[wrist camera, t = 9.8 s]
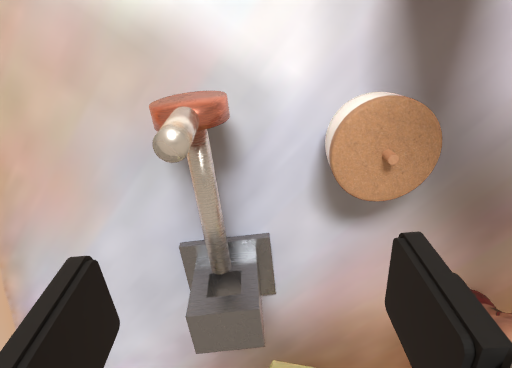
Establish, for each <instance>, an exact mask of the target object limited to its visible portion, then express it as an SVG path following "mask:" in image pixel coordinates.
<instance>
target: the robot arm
mask: <svg viewBox="0 0 512 368" xmlns="http://www.w3.org/2000/svg"><path fill="white" fill-rule="evenodd" d="M385 307H386V311H387V313H388V315H389V318H390V320H391V322H392V324H393V326H394V329H395V331H396V333H397V335H398V337H399V340H400V342H401V344H402V346H403V348H404V351H405V353H406V355H407V357H408V359H409V362H410V364H411V366H412V368H512V342H511V341H510V340H509V338H508V337H507V336H506V334H505V333H504V332H503V331H502V329H501V328H500V327H499V326H498V324H497V323H496V322H495V320H494V319H493V318H492V317H491V315H490V314H489V313H488V312H487V310H486V309H485V308H484V306H483V305H482V304H481V303H480V301H479V300H478V299H477V298H476V296H475V295H474V294H473V293H472V291H471V290H470V289H469V287H468V286H467V285H466V284H465V282H464V281H463V280H462V279H461V278H460V277H459V276H458V275H457V274H455V273H452V271H451V270H450V269H449V267H448V266H447V265H446V264H445V262H444V261H443V260H442V258H441V257H440V256H439V254H438V253H437V252H436V251H435V249H434V248H433V247H432V245H431V244H430V243H429V241H428V240H427V239H426V238H425V236H424V235H423V234H422V233H421V232H408V233H400V235H399V237H398V238H395V239H394V240H393V246H392V253H391V260H390V267H389V275H388V282H387V289H386V296H385ZM119 326H120V320H119V317H118V314H117V312H116V309H115V306H114V304H113V301H112V298H111V296H110V293H109V290H108V288H107V285H106V282H105V280H104V277H103V274H102V272H101V269H100V266H99V264H98V262H97V261H96V260H93V259H92V258H91V257H90V256H79V257H70V258H68V259H67V260H66V262H65V263H64V265H63V266H62V267H61V269H60V270H59V271H58V273H57V274H56V276H55V277H54V278H53V280H52V281H51V283H50V284H49V285H48V287H47V288H46V289H45V291H44V292H43V294H42V295H41V296H40V298H39V299H38V300H37V302H36V303H35V305H34V306H33V307H32V309H31V310H30V311H29V313H28V314H27V316H26V317H25V318H24V320H23V321H22V323H21V324H20V325H19V327H18V328H17V329H16V331H15V332H14V334H13V335H12V336H11V338H10V339H9V341H8V342H7V343H6V345H5V346H4V347H3V349H2V350H1V351H0V368H104V365H105V363H106V360H107V358H108V355H109V353H110V350H111V348H112V346H113V343H114V341H115V338H116V336H117V333H118V331H119Z"/></svg>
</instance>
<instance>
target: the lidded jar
mask: <svg viewBox="0 0 512 368" xmlns="http://www.w3.org/2000/svg"><path fill="white" fill-rule="evenodd" d="M441 148H442V131H441V127H440V124H439V122H438V120H437V118H436V116H435V115H434V113H433V112H432V111H431V110H430V109H429V108H428V107H426V106H425V105H424V104H422V103H420V102H418V101H416V100H414V99H412V98H408V97H405V96H402V95H399V94H395V93H389V92H371V93H366V94H362V95H360V96H357V97H355V98H353V99H351V100H350V101H348V102H347V103H345V104H344V105H343V106H342V107H341V108H340V109H339V110H338V111H337V112H336V114H335V115H334V116H333V118H332V120H331V121H330V123H329V126H328V129H327V132H326V138H325V149H326V155H327V159H328V162H329V165H330V167H331V170H332V173H333V175H334V177H335V179H336V181H337V182H338V183H339V185H340V186H341V187H342V188H343V189H344V190H345V191H346V192H347V193H349V194H351V195H352V196H354V197H357V198H359V199H362V200H366V201H386V200H391V199H395V198H398V197H400V196H403V195H405V194H407V193H409V192H410V191H412V190H413V189H415V188H416V187H417V186H419V185H420V184H421V183H422V182H423V181H424V180H425V179H426V178H427V177H428V176H429V174H430V173H431V172H432V170H433V169H434V167H435V165H436V163H437V161H438V158H439V156H440V152H441Z"/></svg>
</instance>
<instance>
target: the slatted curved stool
mask: <svg viewBox="0 0 512 368" xmlns="http://www.w3.org/2000/svg"><path fill="white" fill-rule="evenodd" d="M269 368H315V367H309V366H303V365H298V364H292V363H286V362H281V361H275V360H273V361H272V363H271V365H270V367H269Z"/></svg>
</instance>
